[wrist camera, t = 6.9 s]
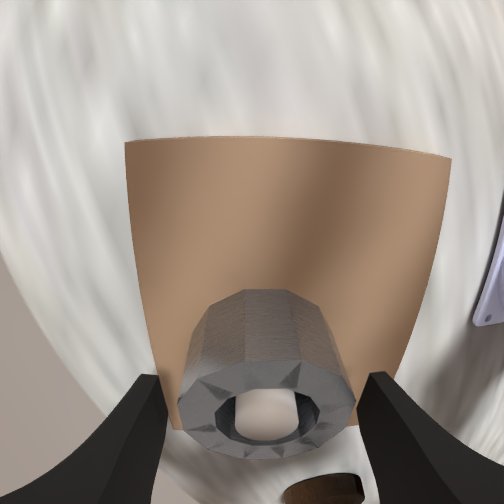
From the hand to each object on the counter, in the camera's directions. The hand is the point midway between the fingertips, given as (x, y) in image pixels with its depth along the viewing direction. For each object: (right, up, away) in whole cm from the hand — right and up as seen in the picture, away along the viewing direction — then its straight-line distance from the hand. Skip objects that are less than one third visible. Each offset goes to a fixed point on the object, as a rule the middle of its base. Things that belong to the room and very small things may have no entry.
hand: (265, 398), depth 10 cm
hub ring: (0, +1, +2) cm, 2 cm away
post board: (+1, +2, +3) cm, 4 cm away
